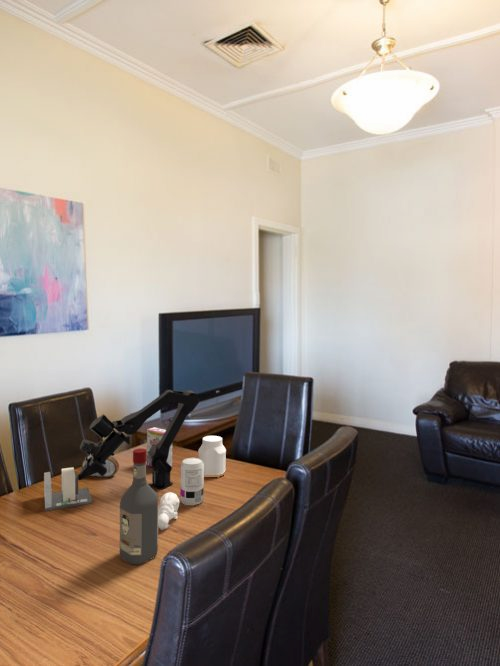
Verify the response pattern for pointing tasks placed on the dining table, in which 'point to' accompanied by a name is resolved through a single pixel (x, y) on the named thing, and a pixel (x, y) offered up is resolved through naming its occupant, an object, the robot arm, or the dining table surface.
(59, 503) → the base
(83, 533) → the dining table surface
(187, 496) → the supplement can
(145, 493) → the liquor
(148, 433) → the candy bar box
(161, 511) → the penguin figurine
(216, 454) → the jar
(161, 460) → the robot arm
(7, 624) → the dining table surface
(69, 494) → the block
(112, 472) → the tin
